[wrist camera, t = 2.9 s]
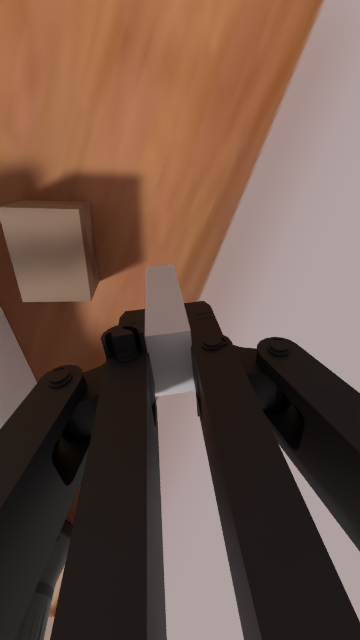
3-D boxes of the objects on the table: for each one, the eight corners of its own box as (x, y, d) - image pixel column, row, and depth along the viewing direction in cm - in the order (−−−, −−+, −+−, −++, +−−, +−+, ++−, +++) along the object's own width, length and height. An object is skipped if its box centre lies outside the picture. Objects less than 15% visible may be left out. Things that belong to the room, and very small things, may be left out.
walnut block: (99, 281, 29) (91, 301, 25) (41, 281, 29) (22, 302, 24) (89, 201, 26) (78, 209, 21) (22, 199, 25) (-4, 207, 21)
